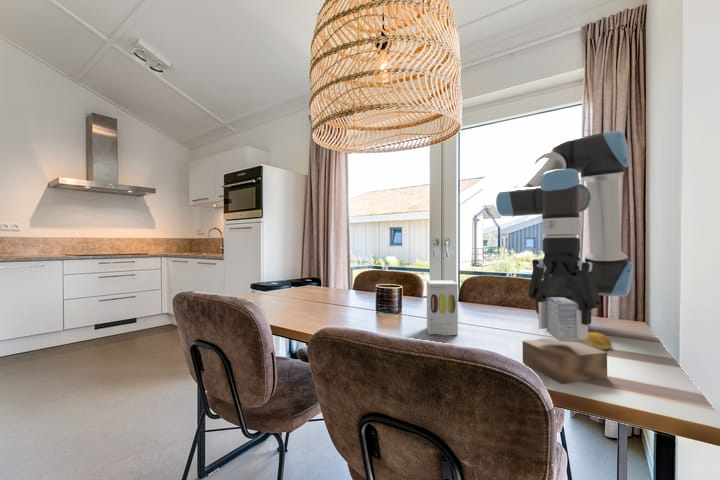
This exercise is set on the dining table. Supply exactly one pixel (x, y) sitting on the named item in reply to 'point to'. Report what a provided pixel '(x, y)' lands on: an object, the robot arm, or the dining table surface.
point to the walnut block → (565, 360)
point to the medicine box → (561, 319)
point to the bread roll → (596, 341)
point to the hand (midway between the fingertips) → (562, 332)
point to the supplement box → (442, 307)
